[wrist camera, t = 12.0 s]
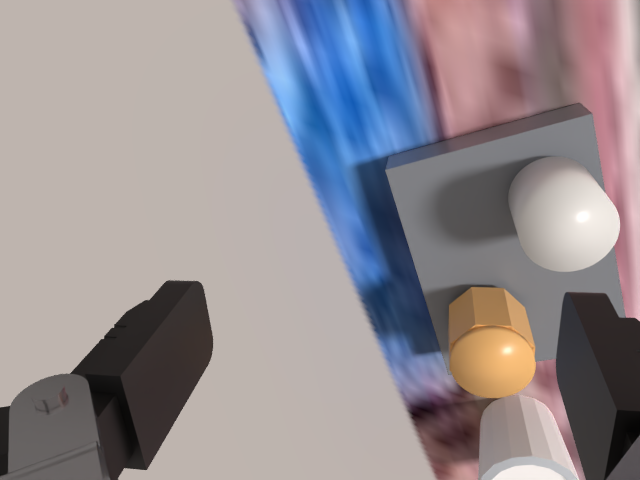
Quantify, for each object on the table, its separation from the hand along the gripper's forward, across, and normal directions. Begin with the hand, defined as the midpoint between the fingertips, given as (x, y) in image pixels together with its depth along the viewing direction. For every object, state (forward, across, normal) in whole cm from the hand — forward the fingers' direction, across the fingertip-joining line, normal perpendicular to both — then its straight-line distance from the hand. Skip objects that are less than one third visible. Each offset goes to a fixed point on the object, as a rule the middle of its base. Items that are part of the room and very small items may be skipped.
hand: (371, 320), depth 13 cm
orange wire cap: (+22, -5, +14) cm, 27 cm away
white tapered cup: (+26, -8, +26) cm, 38 cm away
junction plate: (+26, -6, +10) cm, 29 cm away
